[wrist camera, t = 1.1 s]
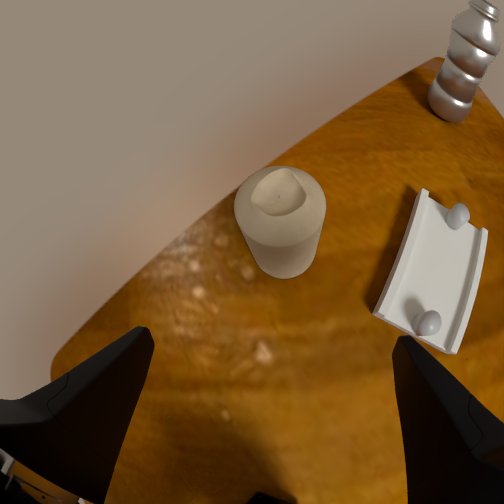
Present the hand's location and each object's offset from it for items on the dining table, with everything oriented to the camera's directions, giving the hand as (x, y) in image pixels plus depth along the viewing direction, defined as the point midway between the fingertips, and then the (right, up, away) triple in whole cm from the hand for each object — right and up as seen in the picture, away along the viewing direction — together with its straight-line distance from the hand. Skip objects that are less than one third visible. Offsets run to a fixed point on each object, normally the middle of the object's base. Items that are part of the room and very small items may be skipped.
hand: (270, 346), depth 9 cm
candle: (+2, +3, +15) cm, 16 cm away
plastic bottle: (+26, +23, +18) cm, 39 cm away
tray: (+17, +1, +12) cm, 21 cm away
